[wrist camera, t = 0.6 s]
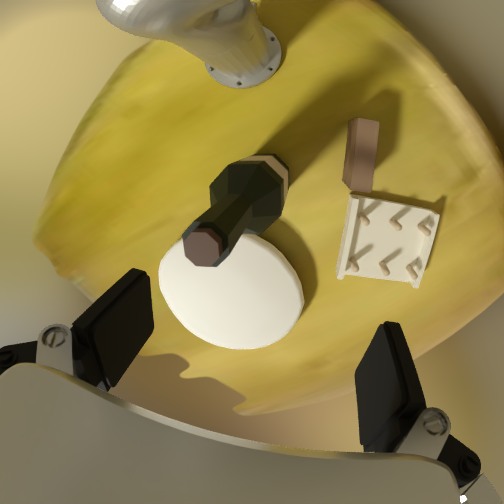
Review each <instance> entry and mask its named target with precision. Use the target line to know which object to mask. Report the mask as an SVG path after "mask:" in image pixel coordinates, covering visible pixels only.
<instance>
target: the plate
mask: <svg viewBox="0 0 504 504" xmlns="http://www.w3.org/2000/svg"><path fill="white" fill-rule="evenodd" d="M158 273H159V284H160V290H161V292H162V294H163V296H164V298H165V300H166V302H167V304H168V306H169V307H170V309H171V310H172V312H173V313H174V315H175V316H176V317H177V318H178V320H179V321H180V322H181V323H182V324H183V325H184V326H185V327H186V328H187V329H188V330H189V331H190V332H192V333H193V334H194V335H196V336H198V337H199V338H201V339H203V340H205V341H207V342H209V343H212V344H214V345H217V346H221V347H225V348H230V349H256V348H261V347H265V346H268V345H270V344H272V343H274V342H277V341H279V340H280V339H281V338H283V337H284V336H285V335H287V334H288V332H289V331H290V330H291V329H292V328H293V326H294V325H295V323H296V322H297V320H298V318H299V316H300V315H301V312H302V309H303V306H304V303H305V301H304V296H303V290H302V285H301V282H300V280H299V278H298V276H297V273H296V271H295V270H294V269H293V267H292V266H291V265H290V263H289V262H288V261H287V259H286V258H285V257H284V255H283V254H282V253H281V252H280V251H279V250H278V249H277V248H276V247H274V246H273V245H272V244H271V243H269V242H267V241H265V240H264V239H262V238H260V237H259V236H257V235H255V234H242V235H241V237H240V239H239V240H238V242H237V243H236V245H235V247H234V248H233V250H232V252H231V253H230V255H229V256H228V257H227V258H226V259H225V260H224V261H223V262H222V263H221V264H220V265H219V266H218V267H201V266H195V265H194V264H193V263H192V262H191V261H190V260H189V259H188V258H187V257H185V253H184V246H183V238H181V239H180V240H178V241H177V242H176V243H175V244H174V245H173V246H172V247H171V248H170V249H169V250H168V251H167V253H166V254H165V256H164V257H163V258H162V260H161V262H160V267H159V271H158Z"/></svg>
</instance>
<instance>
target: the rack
mask: <svg viewBox="0 0 504 504" xmlns="http://www.w3.org/2000/svg"><path fill="white" fill-rule="evenodd" d="M439 217H440V215H439V214H438V213H436V212H435V211H433V210H432V209H427V208H423V207H418V206H414V205H409V204H404V203H399V202H394V201H389V200H383V199H378V198H372V197H366V196H360V195H354V194H349V199H348V206H347V212H346V218H345V224H344V229H343V235H342V240H341V245H340V250H339V255H338V260H337V265H336V275H337V279H342V280H343V277H344V274H346V275H354V276H362V277H370V278H378V279H386V280H395V281H403V282H410V283H411V284H412V286H413V288H418V287H419V284H420V282H421V279H422V276H423V273H424V270H425V267H426V264H427V261H428V257H429V254H430V251H431V247H432V244H433V240H434V237H435V233H436V229H437V225H438V221H439Z"/></svg>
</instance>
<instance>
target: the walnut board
mask: <svg viewBox="0 0 504 504" xmlns="http://www.w3.org/2000/svg"><path fill="white" fill-rule="evenodd" d="M379 123H380V122H378V121H373V120H368V119H363V118H355V119H352V120H349V122H348V133H347V143H346V153H345V162H344V170H343V178H342V181H343V182H344V183H345V184H346V186H347V187H348V188H349V189H350V190H354V191H360V192H366V193H371V188H372V182H373V175H374V168H375V161H376V152H377V144H378V134H379Z"/></svg>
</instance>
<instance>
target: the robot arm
mask: <svg viewBox="0 0 504 504" xmlns="http://www.w3.org/2000/svg"><path fill="white" fill-rule="evenodd" d="M96 4H97V7H98V9H99V11H100V12H101V14H102V15H103V16H104V17H105V18H106V19H107V20H108V21H109V22H110V23H111V24H113V25H114V26H116V27H117V28H119V29H121V30H123V31H125V32H128V33H131V34H133V35H137V36H141V37H145V38H150V39H157V40H164V41H169V42H172V43H174V44H176V45H178V46H180V47H181V48H183V49H185V50H186V51H188V52H190V53H191V54H193V55H194V56H196V57H198V58H199V59H201V60H202V61H204V62H205V66H206V69H207V71H208V73H209V74H210V75H211V76H212V78H214V79H215V80H216V81H217V82H219V83H221V84H223V85H225V86H227V87H231V88H238V89H244V88H251V87H254V86H257V85H259V84H262V83H264V82H265V81H266V80H268V79H269V78H270V77H271V76H272V75H273V74H274V73H275V72H276V70H277V69H278V67H279V65H280V62H281V57H282V51H281V46H280V43H279V41H278V38H277V37H276V36H275V34H274V33H273V32H272V31H270V30H269V29H268V28H266V27H264V26H262V25H261V23H260V20H259V18H258V16H257V14H256V8H257V4H256V3H254V2H251V1H250V0H96ZM271 40H274V41H271ZM270 68H272V69H273V70H272V71H270ZM212 69H214V70H213V71H212ZM239 83H242V85H239ZM72 325H73V327H72V328H71V329H69V328H68V327H67V326H65V325H62V324H53V325H50V326H48V327H46V328H44V329H43V330H42V331H41V333H40V334H39V337H38V341H32V342H27V343H20V344H14V345H8V346H4V347H2V348H1V349H0V504H502V500H501V498H500V496H499V495H498V493H497V492H496V490H495V489H494V487H493V486H492V484H491V483H490V481H489V480H488V479H487V477H486V476H485V474H484V473H482V474H481V475H480V470H481V462H480V459H479V457H478V456H477V454H476V453H474V452H473V451H472V450H470V449H469V448H468V447H466V446H465V445H464V444H462V443H461V442H460V441H458V440H457V439H456V438H454V437H453V436H452V435H450V434H449V433H450V429H451V423H450V420H449V417H448V416H447V414H446V413H445V412H443V411H442V410H441V409H438V408H434V407H430V408H427V407H426V402H425V398H424V395H423V391H422V387H421V384H420V381H419V378H418V374H417V371H416V368H415V365H414V363H413V359H412V356H411V353H410V350H409V347H408V345H407V342H406V339H405V336H404V334H403V331H402V328H401V326H400V324H399V323H396V322H389V321H385V322H384V324H380V325H379V327H378V329H377V331H376V333H375V335H374V337H373V339H372V341H371V343H370V345H369V347H368V349H367V351H366V352H365V354H364V356H363V358H362V360H361V362H360V363H359V365H358V367H357V369H356V371H355V385H356V394H357V406H358V420H359V436H360V444H361V445H363V447H364V452H375V453H359V452H357V453H356V452H336V451H320V450H310V449H301V448H292V447H285V446H278V445H272V444H266V443H261V442H256V441H250V440H245V439H241V438H236V437H232V436H228V435H224V434H220V433H216V432H212V431H209V430H205V429H201V428H198V427H195V426H191V425H188V424H185V423H182V422H179V421H176V420H173V419H170V418H167V417H165V416H162V415H159V414H156V413H154V412H151V411H148V410H146V409H143V408H141V407H138V406H136V405H134V404H132V403H129V402H127V401H125V400H122V399H120V398H118V397H116V396H114V395H111V394H109V393H107V392H108V391H109V389H110V388H111V387H115V386H116V384H117V383H118V382H119V380H120V379H121V377H122V375H123V374H124V373H125V371H126V370H127V368H128V367H129V365H130V364H131V363H132V361H133V360H134V358H135V357H136V355H137V354H138V353H139V351H140V350H141V348H142V347H143V345H144V344H145V343H146V341H147V340H148V338H149V337H150V336H151V334H152V332H153V330H154V320H153V310H152V299H151V286H150V277H149V276H148V275H147V273H146V272H145V271H143V270H139V269H135V268H132V269H131V270H129V271H128V272H127V273H126V274H125V275H124V276H123V277H122V278H120V279H119V280H118V281H117V282H116V283H115V284H114V285H113V286H112V287H110V288H109V289H108V290H107V291H106V292H105V293H104V294H103V295H102V296H101V297H100V298H98V299H97V300H96V301H95V302H94V303H93V304H92V305H91V306H90V307H89V308H88V309H87V310H86V311H85V312H84V313H83V314H82V315H81V316H80V317H79V318H77V320H75V321H74V323H72ZM97 387H98V388H97ZM99 388H100V389H99ZM101 389H102V390H101ZM103 390H104V391H103ZM105 391H106V392H105Z"/></svg>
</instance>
